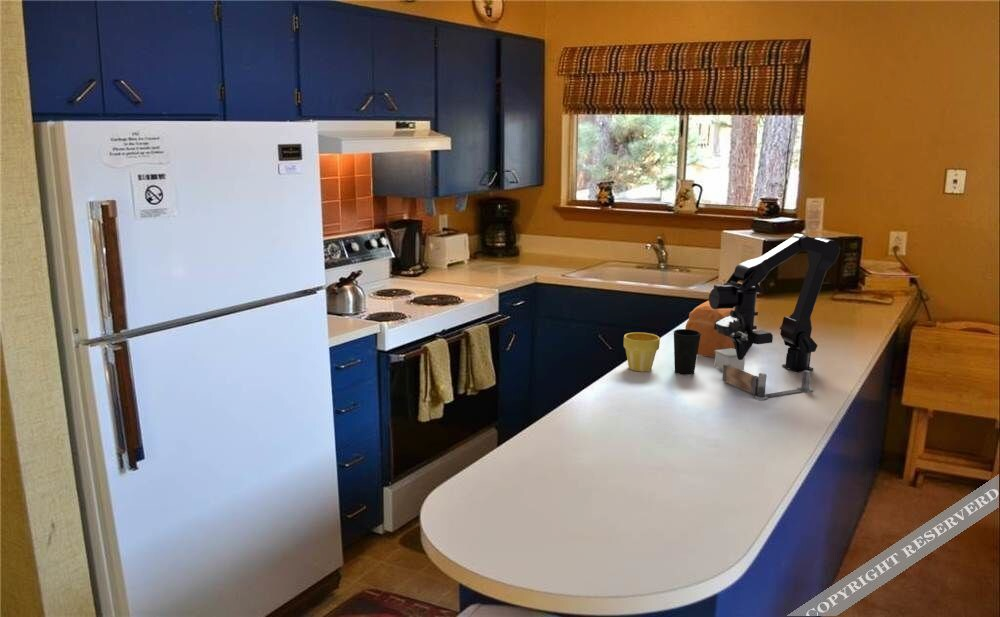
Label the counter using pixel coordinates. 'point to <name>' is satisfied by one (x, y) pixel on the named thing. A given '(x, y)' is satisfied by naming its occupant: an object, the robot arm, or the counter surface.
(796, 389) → the strip
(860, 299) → the counter surface
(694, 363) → the cup
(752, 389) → the gate
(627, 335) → the plant pot
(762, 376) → the hinge post
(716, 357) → the base block
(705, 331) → the bread
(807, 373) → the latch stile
